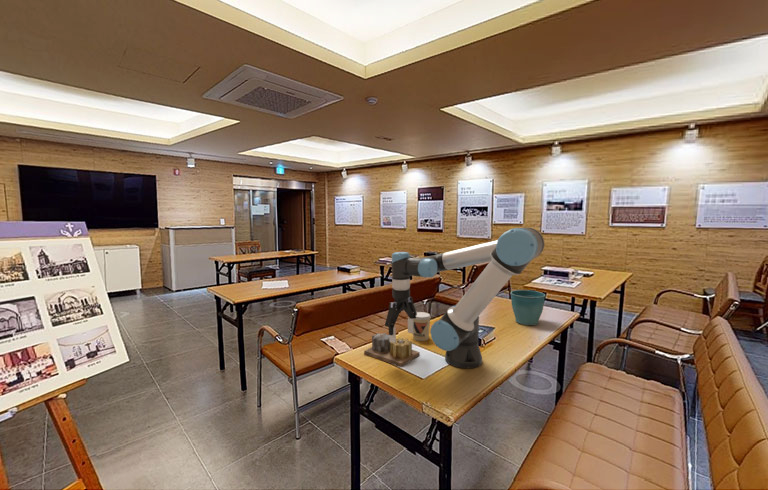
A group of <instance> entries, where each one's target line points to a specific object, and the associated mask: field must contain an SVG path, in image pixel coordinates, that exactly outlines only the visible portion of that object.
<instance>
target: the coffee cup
mask: <svg viewBox="0 0 768 490" xmlns="http://www.w3.org/2000/svg"><path fill="white" fill-rule="evenodd" d="M416 313H417V316H416V319H415V318H414V333H413V334H412V338H413V340H415V341H421V342H423V341H424V342H425V341H427V340H429V338H430V326H431V314H430V313H428V312H424V311H423V312H422V311H416Z"/></svg>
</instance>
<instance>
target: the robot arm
mask: <svg viewBox="0 0 768 490" xmlns="http://www.w3.org/2000/svg"><path fill="white" fill-rule="evenodd" d="M544 249H545V239H544V237H543V235H542V234H541V232H539V231H538V230H537V229H534V228H532V227H514V228H511V229H509V230H506V231H505V232H503V233H502V234H501V235H500V236H499V237H498V239H497V240H492V241H487V242H483V243H479V244H474V245H470V246H467V247H463V248H459V249H454V250H450V251H446V252H442V253H437V254H434V255H429V256H425V257H411V256H410V253H409V251H397V252H396V251H395V252H393V253H391V262H390V263H391V273H392V274H391V279H392V281H391V282H392V283H391V285H392V286H391V287H392V289H391V290H392V291H391V292H392V293H391V294H392V299H394V301H393V302H389V305H388V311H387V315H386V319H385V322H384V326H385V327H387V328H388V335H389V342H392V343H396V339H397V338H396V337H397V336H396V335H397V333H396V326H395V325H396V323H397V320H398V317H399V315H400V314H401V313H402V312H403V311H405V313H406V315H407V317H408V318H407V333H408V334H412V335H413V333H414V318H415V319H416V316H417V313H416V312H417V310H416V306H415V304H414V300H413V296H411V289H410V287H411V277H421V278H433V277H435V276H436V274H437V273H441V272H446V271H450V270H454V269H459V268H464V267H469V266H476V265H480V264H485V263H488V264H487V265H486V266H485V268H483V271H481V273H480V274H479V275H478V276H477V278H476V279H475V280H474V282H473V283H472V284H471V286H470V287H469V288H468V290H467V291H466V292H465V293H464V295H463V296H462V297H461V298H460V299H459V301H458V302H457V303H456V304H455V305H452V306H449V308H447V310H446V311H445V312H444V313H443V315H442V316H441V318H439V319H438V320H436V321H434V322H433V324H432V325H431V328H430V330H429V334H430V337H431V340H432V342H433V343H434V345H435V346H436V347H437V348H439V349H440V350H442V351H445V355H444V356H445V358H444V359H445V360H444V361H445V362H446V363H448V364H449V365H450V366H453V367H455V368H461V369H474V368H479V367H481V366H482V364H483V356H482V353H481V349H480V346H479V328H480V327H479V324H480V323H479V321H480V315H481V314H482V312H483V311H484V310H485V309H486V308H487V306H488V305H489V304H490V303H491V302H492V300H493V299H495V297H496V296H497V294H499V292H500V291H501V290H502V289H503V287H504V286H505V285H506V284H508V281H510V279H511V278H512V277H513V276H519V275H520V274H522V273H523V271H525V269H526V268H527V266H528V265H529V264H530V263H531V262H532V261H533V260H534V259H536V258H538V257H540V255H541V254H542V252H543V251H544Z"/></svg>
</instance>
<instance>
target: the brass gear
mask: <svg viewBox="0 0 768 490" xmlns="http://www.w3.org/2000/svg"><path fill="white" fill-rule="evenodd" d="M399 340H403V343H401V344H400V343H399ZM412 348H413V341H412V340H409V338H401V337H397V338H396V343H392V342H390V355H393V358H401V359H404V358H406V357H411V354H412V350H413V349H412Z"/></svg>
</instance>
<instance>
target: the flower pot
mask: <svg viewBox="0 0 768 490" xmlns="http://www.w3.org/2000/svg"><path fill="white" fill-rule="evenodd" d="M545 297H546V294H545V293H543V292H540V291H536V290H529V289H516V290H512V291H510V298H511V307H512V308H511V309H512V312H513V315H514V317H515V322H516V323H518V324H520V325H525V326H535V325H538V324H539V323H540V322H539V321H540V318H541V316H542V313H543V310H544V305H545V303H544V302H545Z"/></svg>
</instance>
